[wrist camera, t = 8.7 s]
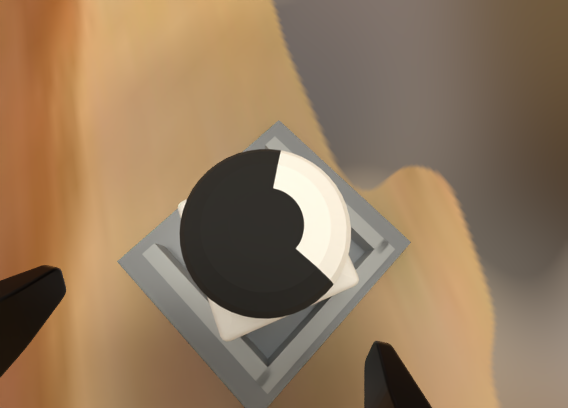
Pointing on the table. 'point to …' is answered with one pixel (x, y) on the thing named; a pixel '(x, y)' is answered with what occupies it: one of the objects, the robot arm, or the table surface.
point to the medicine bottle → (265, 239)
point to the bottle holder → (277, 335)
